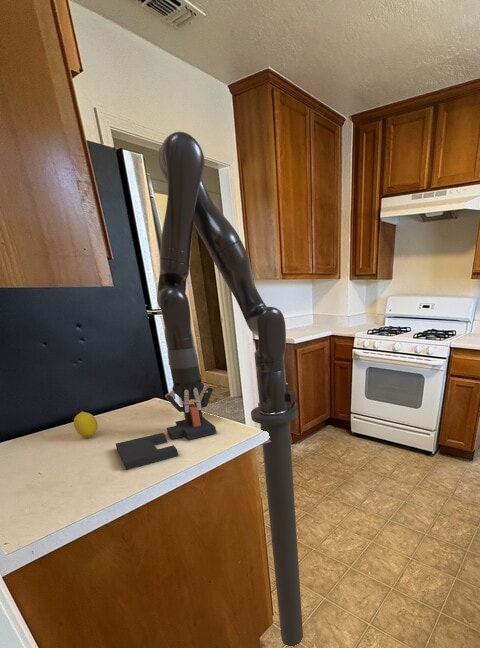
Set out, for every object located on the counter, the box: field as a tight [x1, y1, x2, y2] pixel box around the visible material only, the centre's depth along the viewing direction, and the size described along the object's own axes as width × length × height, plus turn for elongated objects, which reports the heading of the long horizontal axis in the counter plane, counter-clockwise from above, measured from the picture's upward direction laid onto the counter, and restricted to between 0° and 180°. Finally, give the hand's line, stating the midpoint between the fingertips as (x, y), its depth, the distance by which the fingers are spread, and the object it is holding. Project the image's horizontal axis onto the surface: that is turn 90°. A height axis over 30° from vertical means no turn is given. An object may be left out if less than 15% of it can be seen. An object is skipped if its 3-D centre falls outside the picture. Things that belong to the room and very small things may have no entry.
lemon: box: [73, 411, 99, 439], centre depth 101 cm, size 6×6×8 cm
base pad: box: [115, 432, 179, 471], centre depth 92 cm, size 12×14×2 cm
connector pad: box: [166, 403, 217, 441], centre depth 103 cm, size 12×12×8 cm
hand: (194, 422), depth 104 cm, fingers closed on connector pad
